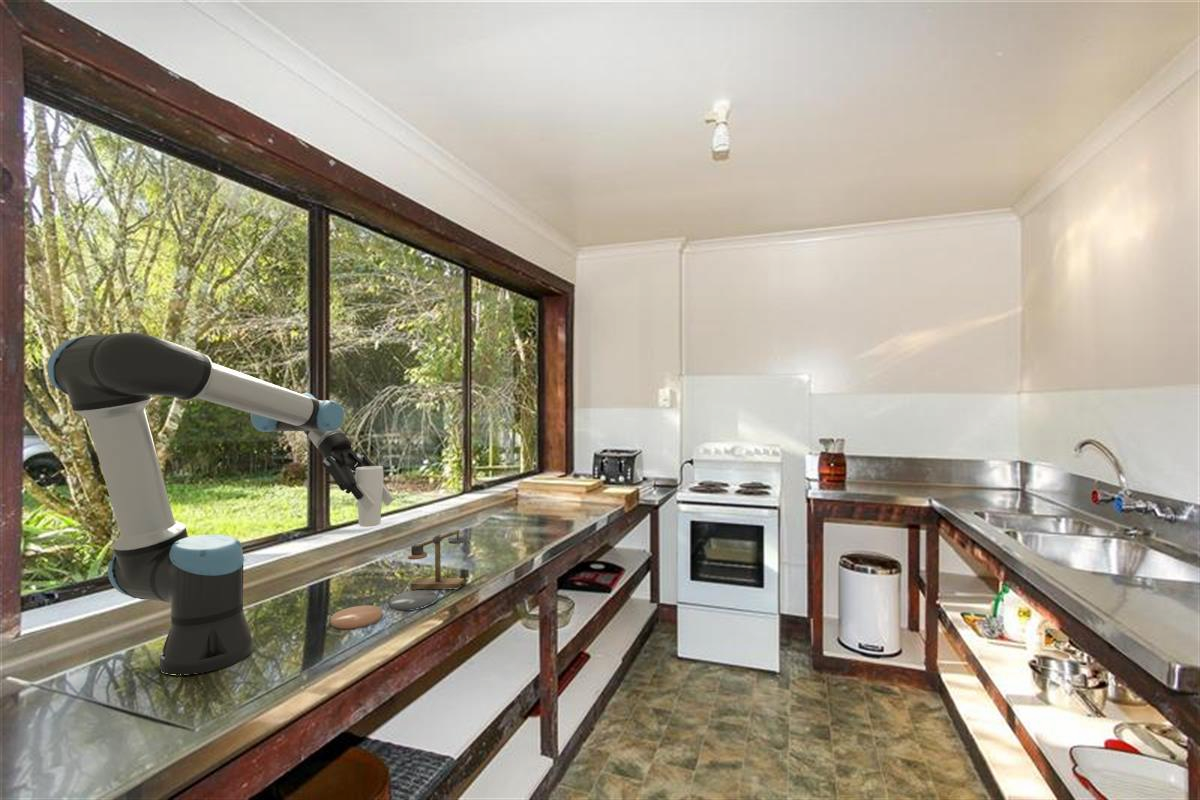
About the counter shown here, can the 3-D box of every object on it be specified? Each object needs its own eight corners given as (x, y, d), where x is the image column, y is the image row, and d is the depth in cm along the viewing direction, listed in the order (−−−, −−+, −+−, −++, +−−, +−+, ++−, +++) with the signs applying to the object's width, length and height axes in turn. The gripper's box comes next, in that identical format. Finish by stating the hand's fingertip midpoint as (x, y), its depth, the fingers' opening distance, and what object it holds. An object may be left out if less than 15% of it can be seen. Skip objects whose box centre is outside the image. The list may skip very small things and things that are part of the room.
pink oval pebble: (320, 628, 122) (320, 623, 122) (346, 610, 133) (346, 605, 133) (368, 629, 121) (368, 623, 121) (390, 610, 132) (390, 605, 132)
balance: (405, 589, 147) (404, 531, 148) (412, 583, 152) (411, 527, 153) (464, 589, 147) (463, 531, 147) (470, 583, 152) (469, 527, 152)
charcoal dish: (382, 610, 132) (382, 605, 132) (401, 594, 143) (401, 590, 143) (427, 610, 132) (426, 605, 132) (442, 594, 143) (442, 590, 143)
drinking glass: (349, 526, 141) (349, 468, 141) (371, 521, 147) (371, 465, 147) (367, 528, 138) (367, 469, 138) (389, 523, 144) (389, 466, 144)
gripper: (349, 448, 157) (397, 507, 152) (292, 453, 138) (344, 521, 133) (365, 429, 155) (413, 489, 150) (308, 432, 137) (361, 500, 131)
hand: (380, 504), depth 141 cm, fingers closed on drinking glass, 7 cm apart
